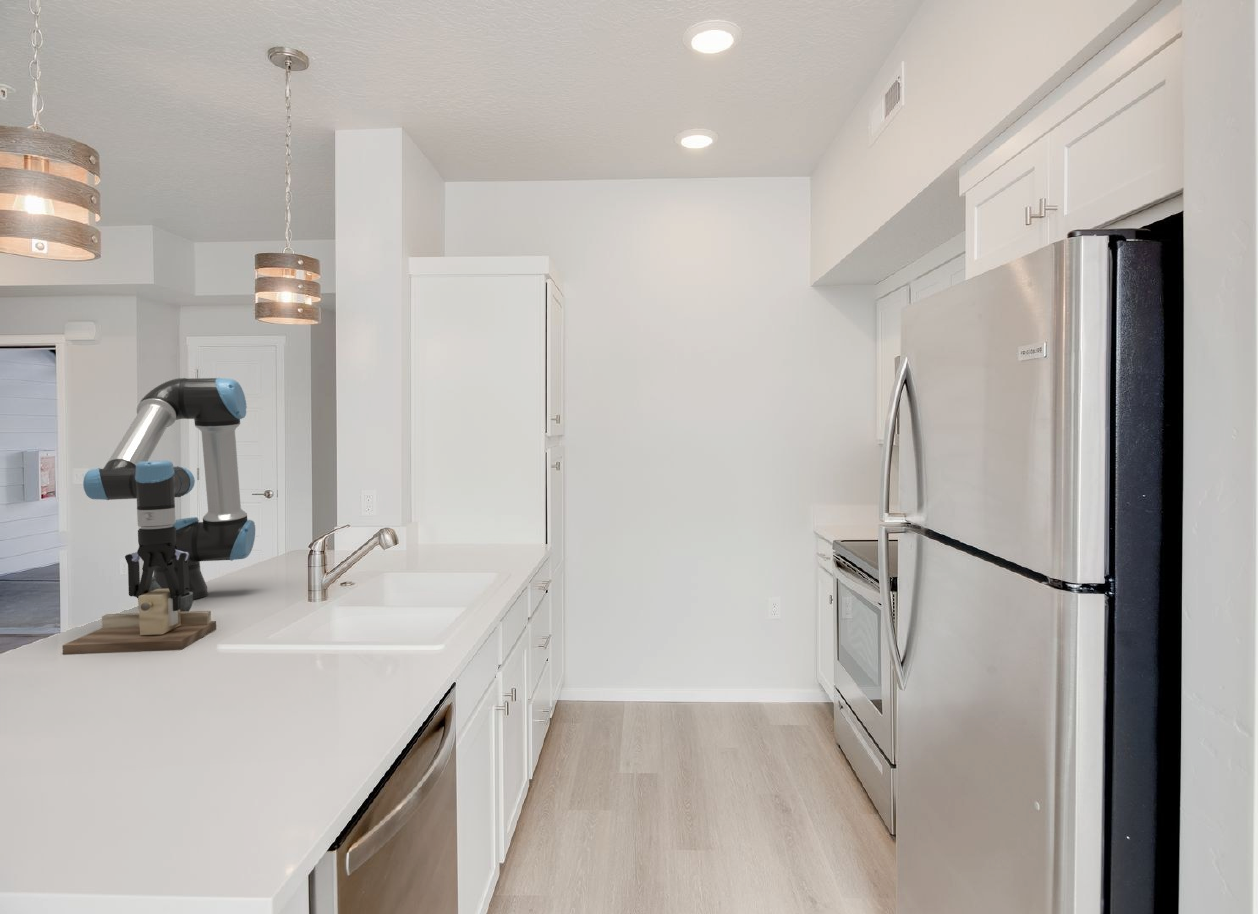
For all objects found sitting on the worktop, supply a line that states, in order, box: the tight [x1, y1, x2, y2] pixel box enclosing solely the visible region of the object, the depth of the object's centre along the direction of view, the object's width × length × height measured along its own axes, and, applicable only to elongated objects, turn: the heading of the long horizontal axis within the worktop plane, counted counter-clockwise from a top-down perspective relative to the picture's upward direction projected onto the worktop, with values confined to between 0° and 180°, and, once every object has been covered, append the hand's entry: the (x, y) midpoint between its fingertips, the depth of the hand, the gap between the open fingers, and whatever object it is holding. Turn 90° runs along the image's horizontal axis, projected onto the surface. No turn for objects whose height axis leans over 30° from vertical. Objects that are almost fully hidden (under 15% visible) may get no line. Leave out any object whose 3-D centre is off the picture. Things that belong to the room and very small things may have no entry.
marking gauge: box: [137, 588, 181, 635], centre depth 173 cm, size 12×5×9 cm, turn 5°
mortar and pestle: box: [149, 576, 194, 612], centre depth 190 cm, size 11×9×12 cm
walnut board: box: [62, 610, 217, 655], centre depth 173 cm, size 17×25×5 cm
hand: (160, 624), depth 173 cm, fingers closed on marking gauge, 5 cm apart
